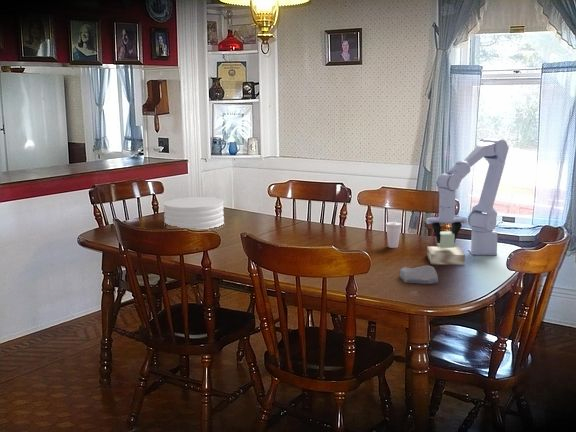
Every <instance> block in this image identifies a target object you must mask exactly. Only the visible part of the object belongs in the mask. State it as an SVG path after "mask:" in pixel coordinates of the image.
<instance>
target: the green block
mask: <svg viewBox="0 0 576 432" xmlns="http://www.w3.org/2000/svg"><path fill="white" fill-rule="evenodd" d="M454 240H455V234H454V233H452V230H450V231H448V230H447V231H444V230H443V231H440V243H437V242H436V243H437V247H440V248H454V247H455V243H454ZM455 241H456V240H455Z"/></svg>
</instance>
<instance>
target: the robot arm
mask: <svg viewBox="0 0 576 432" xmlns="http://www.w3.org/2000/svg"><path fill="white" fill-rule="evenodd" d="M508 153H509V145H508V143H507V141H506V140H505V139H503V138H499V139H498V138H487V137H482V138H480V140H479V141H478V142H476V145H475V148H474V149H473V150H472V151H471V152H470V153H469V154H468V155H467V156H466V158H465V159H464V160H457V161H456V162H455V163H454V165H453V166H452V167H450V169H448V170H447V171H446V173H445V172H444V173H442V174H440V175H439V176H438V177H437V179H436V182H435V184H436V187H437V189H438V195H439V197H438V199H439V200H438V201H439V203H438V216H435V217H426V220H425V221H426V222H425V223H426V224H427V225H430V224H431V226H432V229H433V231H434V234H435V238H436V239H435V240H436V243H440V232H441V229H442V226H441V224H451V232H452V233H454V234H455V240H454V244H455V243H456V241H457V236H458V234H459V232H460V230H461V229H462V227H463V224H467V225H468V226H469V228H470V230H471V236H470V237H471V240H470V243H471V244H470V248H468V252H469V253H470V254H471V255H479V256H480V255H481V256H484V255H488V256H489V255H490V256H491V255H493V256H494V255H495V256H496V255H498V253H497V252H498V231H497V230H494V229H495V228H496V226H497V217H498V216H497V215H498V213H497V211H496V210H495V208H494V204H495V200H496V197H497V194H498V193H497V192H498V190H499V186H500V184H501V183H500V182H501V178H502V176H503V171H504V168H505V165H506V159H507V156H508ZM482 159H485V161H487V162H488V169H487V172H486V176H485V179H484V182H483V186H482V190H481V193H480V198H479V201H478V203H477V204H476V205H474V206H473V207H472V208H471V211H470V213H469V214H468V216H467V217H466V216H465V217H464V216H456V195H457V194H456V192H457V190H458V189H459V187H460V184H461V182H462V180H463V179H464V178H465V177H466V176H467V175H468V174H470V173H471V167H473V166H474V165H475V164H476V163H478V162H479V161H481V160H482Z"/></svg>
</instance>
